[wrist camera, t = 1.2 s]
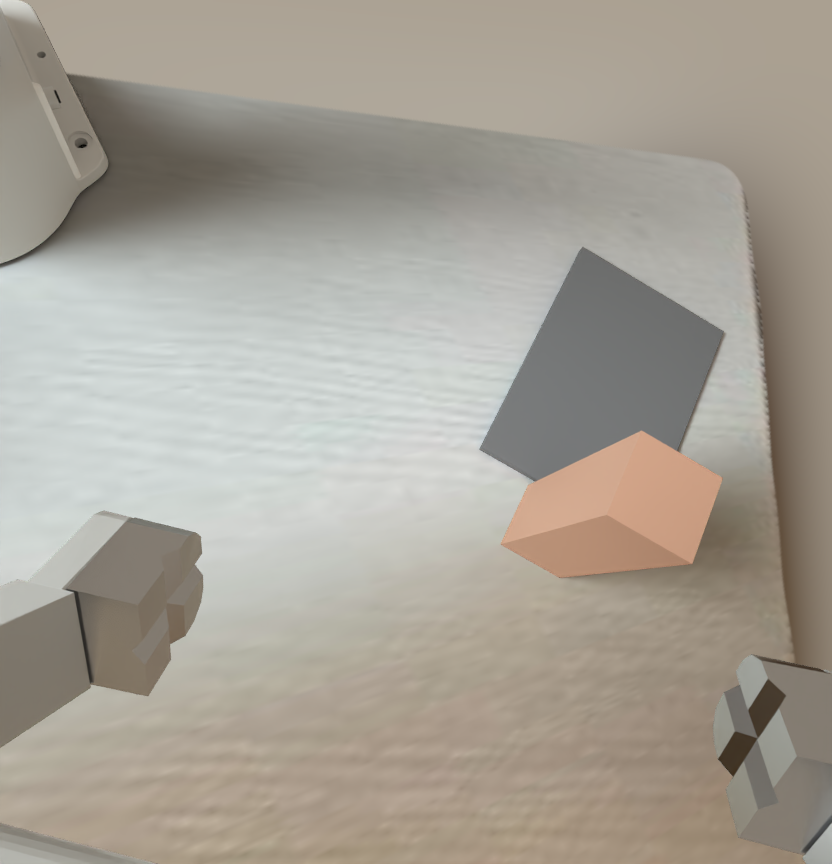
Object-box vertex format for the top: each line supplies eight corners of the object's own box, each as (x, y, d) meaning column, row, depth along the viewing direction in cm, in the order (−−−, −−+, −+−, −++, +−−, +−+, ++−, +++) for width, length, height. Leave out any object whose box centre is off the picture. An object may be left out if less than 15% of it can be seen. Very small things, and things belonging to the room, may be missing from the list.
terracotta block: (559, 577, 48) (692, 563, 33) (500, 544, 48) (606, 514, 32) (585, 517, 49) (723, 478, 34) (528, 485, 49) (641, 430, 34)
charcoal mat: (638, 540, 50) (642, 540, 49) (479, 449, 49) (481, 447, 49) (719, 333, 56) (723, 331, 56) (580, 249, 55) (582, 246, 55)
